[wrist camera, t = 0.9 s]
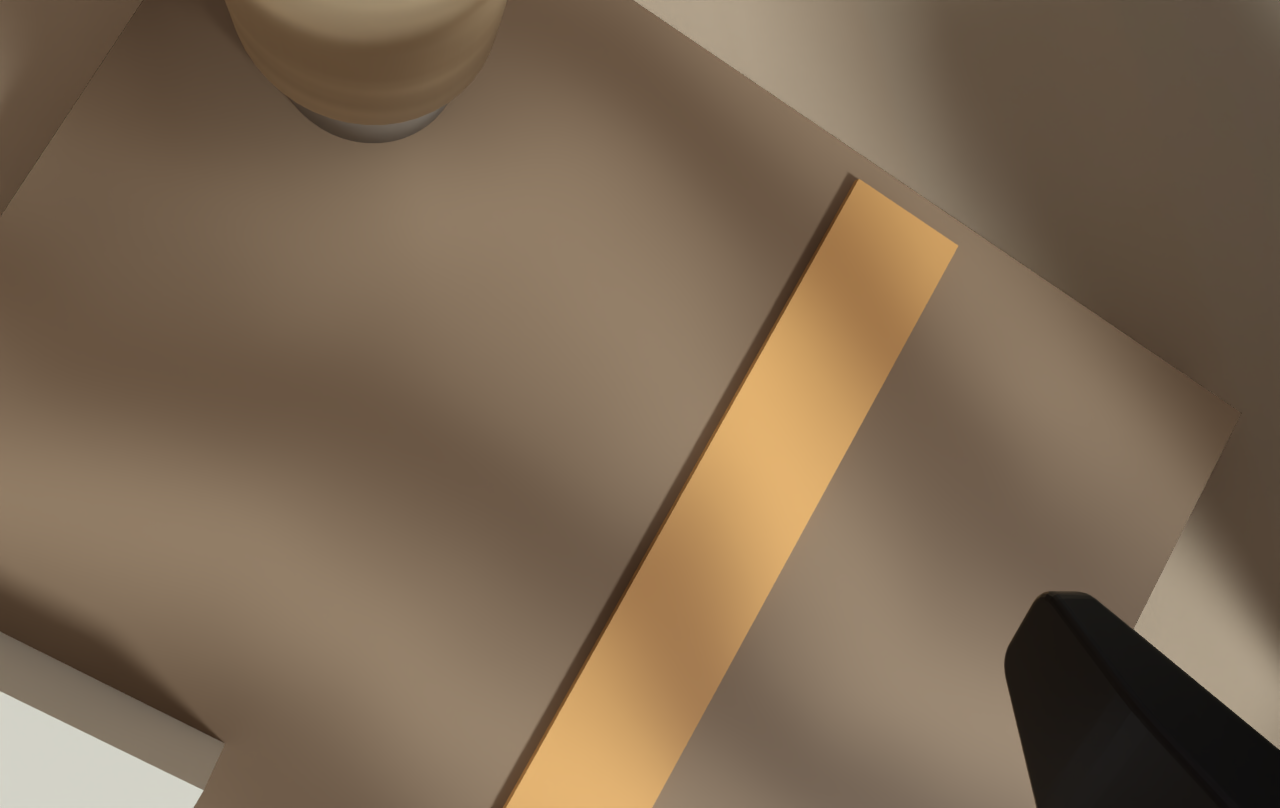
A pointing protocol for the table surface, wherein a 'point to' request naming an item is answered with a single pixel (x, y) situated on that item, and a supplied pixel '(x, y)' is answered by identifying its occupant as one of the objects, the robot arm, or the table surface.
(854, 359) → the board
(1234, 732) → the robot arm
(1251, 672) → the table surface
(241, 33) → the beige round column
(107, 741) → the block
